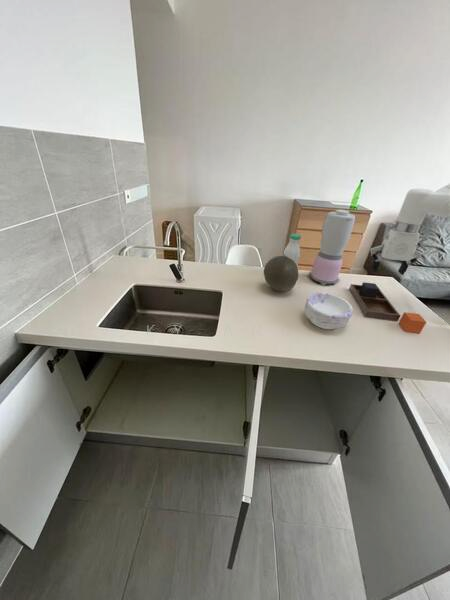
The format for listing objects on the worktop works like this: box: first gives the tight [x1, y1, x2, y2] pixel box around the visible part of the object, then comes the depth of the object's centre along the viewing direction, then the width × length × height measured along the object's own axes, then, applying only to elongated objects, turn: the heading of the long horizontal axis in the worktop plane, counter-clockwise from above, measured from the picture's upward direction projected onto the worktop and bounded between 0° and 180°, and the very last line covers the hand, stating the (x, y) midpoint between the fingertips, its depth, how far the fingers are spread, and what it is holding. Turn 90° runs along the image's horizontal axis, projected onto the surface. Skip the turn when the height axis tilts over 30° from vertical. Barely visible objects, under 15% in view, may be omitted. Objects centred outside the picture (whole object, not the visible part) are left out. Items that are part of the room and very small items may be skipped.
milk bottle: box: [282, 233, 302, 268], centre depth 115 cm, size 8×8×20 cm
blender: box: [309, 209, 356, 287], centre depth 110 cm, size 16×12×32 cm
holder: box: [348, 283, 401, 322], centre depth 100 cm, size 12×22×3 cm, turn 171°
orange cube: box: [398, 311, 427, 334], centre depth 85 cm, size 5×5×5 cm
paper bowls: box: [303, 292, 354, 330], centre depth 86 cm, size 15×15×8 cm
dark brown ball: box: [263, 255, 299, 292], centre depth 102 cm, size 14×14×15 cm
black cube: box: [359, 281, 380, 298], centre depth 103 cm, size 5×5×5 cm
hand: (387, 271), depth 94 cm, fingers open, 9 cm apart
